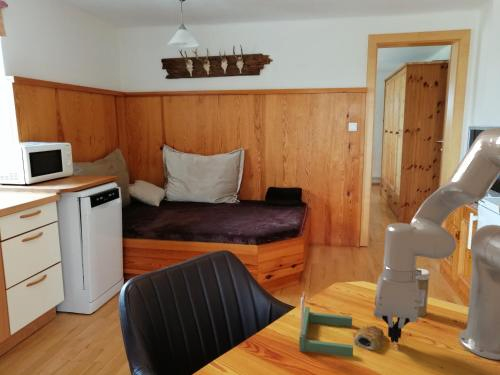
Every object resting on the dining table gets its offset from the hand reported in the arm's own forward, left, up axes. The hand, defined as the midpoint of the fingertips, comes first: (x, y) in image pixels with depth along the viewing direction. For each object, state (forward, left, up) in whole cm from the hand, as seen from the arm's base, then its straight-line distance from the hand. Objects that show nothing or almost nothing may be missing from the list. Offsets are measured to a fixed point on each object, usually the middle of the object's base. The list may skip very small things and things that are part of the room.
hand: (394, 339), depth 101 cm
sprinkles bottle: (-9, -19, -2) cm, 21 cm away
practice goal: (+16, 0, -2) cm, 16 cm away
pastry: (+6, 0, -2) cm, 6 cm away
